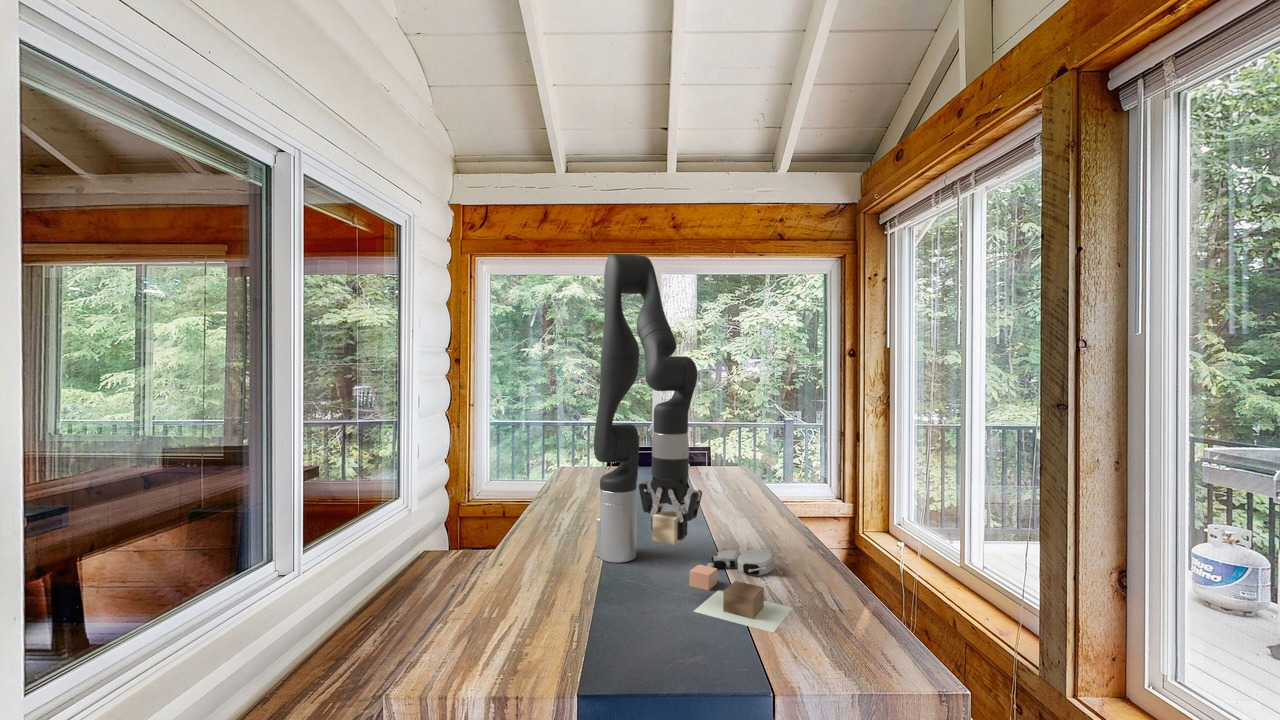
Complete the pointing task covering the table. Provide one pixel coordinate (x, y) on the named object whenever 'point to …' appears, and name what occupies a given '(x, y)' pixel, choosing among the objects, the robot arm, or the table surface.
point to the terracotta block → (703, 577)
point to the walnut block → (743, 599)
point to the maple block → (665, 527)
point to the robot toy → (745, 561)
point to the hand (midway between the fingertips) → (669, 536)
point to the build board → (763, 620)
